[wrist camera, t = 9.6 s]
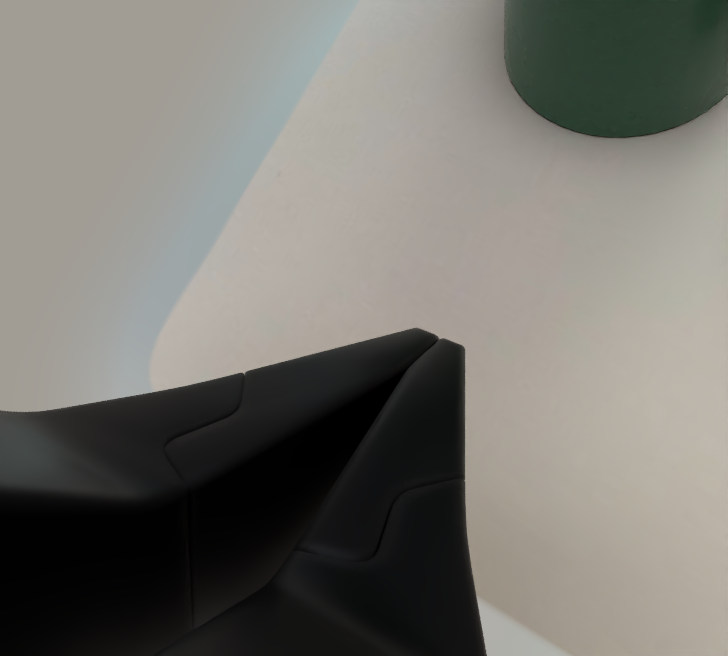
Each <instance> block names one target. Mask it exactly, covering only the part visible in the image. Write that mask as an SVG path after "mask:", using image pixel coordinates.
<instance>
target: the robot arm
mask: <svg viewBox="0 0 728 656" xmlns="http://www.w3.org/2000/svg"><path fill="white" fill-rule="evenodd" d="M464 480H465V348H464V347H463V346H462V345H460V344H457V343H455V342H452V341H450V340H447V339H444V338H442V339H439V338H438V336H436V335H434V334H432V333H429V332H427V331H424V330H422V329H419V328H413V329H409V330H405V331H401V332H397V333H393V334H389V335H386V336H382V337H378V338H374V339H370V340H366V341H362V342H358V343H355V344H351V345H347V346H343V347H339V348H335V349H331V350H327V351H324V352H320V353H316V354H312V355H308V356H304V357H300V358H296V359H293V360H289V361H285V362H281V363H277V364H273V365H269V366H265V367H261V368H258V369H254V370H250V371H247V372H245V376H244V374H243V373H238V374H234V375H230V376H226V377H222V378H218V379H214V380H210V381H205V382H201V383H197V384H193V385H188V386H184V387H178V388H173V389H168V390H163V391H158V392H152V393H147V394H142V395H136V396H130V397H124V398H118V399H113V400H107V401H101V402H96V403H90V404H84V405H78V406H72V407H67V408H61V409H55V410H47V411H40V412H8V411H0V656H487V655H486V649H485V643H484V637H483V632H482V626H481V621H480V615H479V609H478V603H477V597H476V591H475V585H474V580H473V574H472V568H471V561H470V553H469V545H468V538H467V527H466V506H465V481H464Z"/></svg>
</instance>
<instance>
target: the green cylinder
mask: <svg viewBox="0 0 728 656" xmlns="http://www.w3.org/2000/svg"><path fill="white" fill-rule="evenodd" d="M504 51H505V62H506V67H507V71H508V74H509V76H510V79H511V81H512V83H513V85H514V86H515V88H516V90H517V92H518V93H519V94H520V95H521V97H522V98H523V99H524V100H525V101H526V103H527V104H529V105H530V106H531V107H532V108H533V109H534V110H535V111H536V112H538V113H539V114H541V115H542V116H544V117H545V118H547V119H548V120H550V121H552V122H554V123H556V124H558V125H560V126H562V127H565V128H568V129H571V130H573V131H577V132H581V133H585V134H590V135H596V136H605V137H630V136H641V135H646V134H651V133H656V132H661V131H664V130H667V129H670V128H673V127H676V126H678V125H681V124H683V123H685V122H688V121H690V120H692V119H694V118H695V117H697V116H699V115H701V114H702V113H704V112H706V111H707V110H709V109H710V108H711V107H713V106H714V105H715V104H717V103H718V102H719V101H720V100H721V99H723V98H724V97H725V96H726V95H727V94H728V0H505V31H504Z"/></svg>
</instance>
